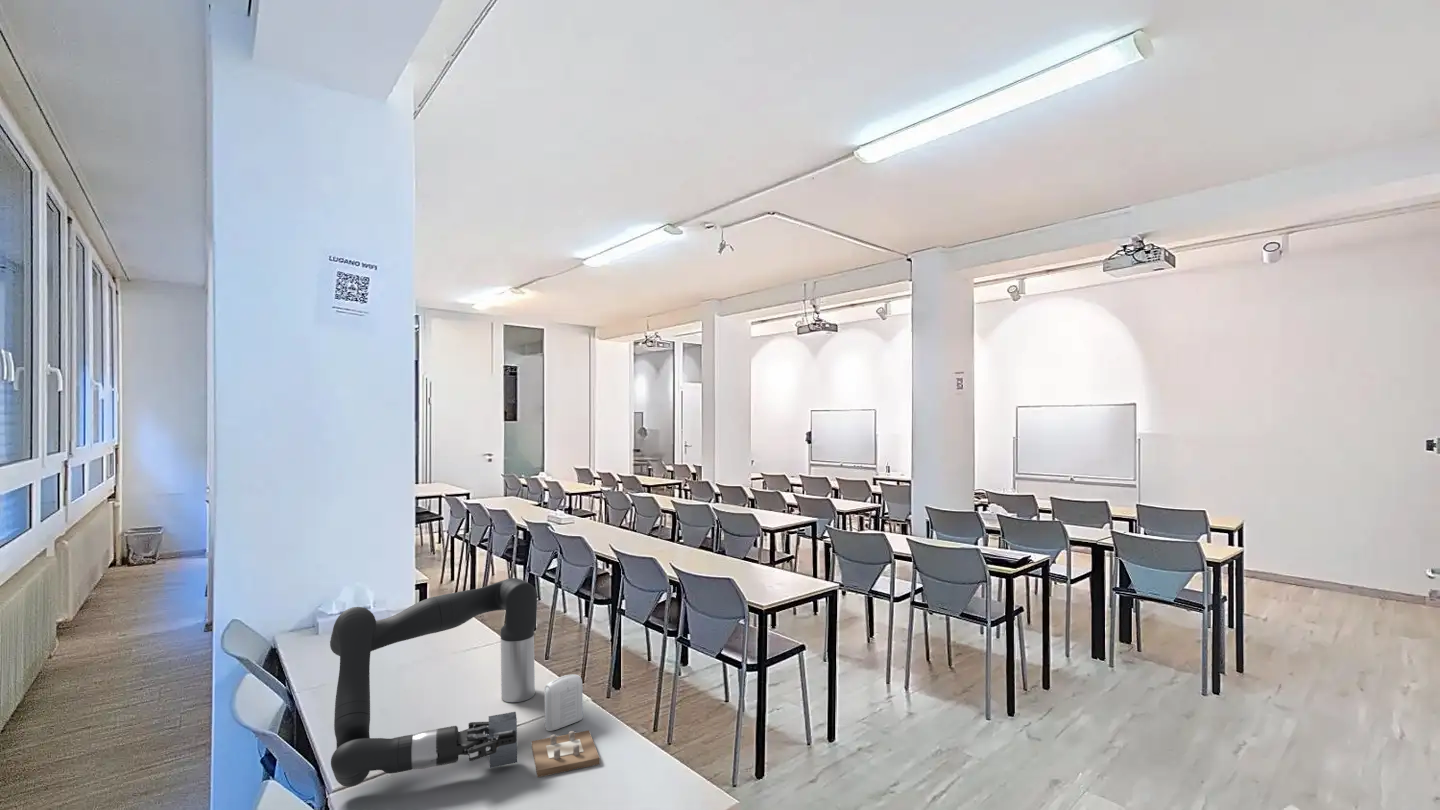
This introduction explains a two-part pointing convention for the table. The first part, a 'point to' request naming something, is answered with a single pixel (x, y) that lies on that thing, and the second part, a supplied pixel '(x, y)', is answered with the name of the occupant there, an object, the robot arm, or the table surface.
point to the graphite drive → (499, 727)
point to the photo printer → (563, 702)
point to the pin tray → (564, 753)
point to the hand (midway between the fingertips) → (515, 732)
